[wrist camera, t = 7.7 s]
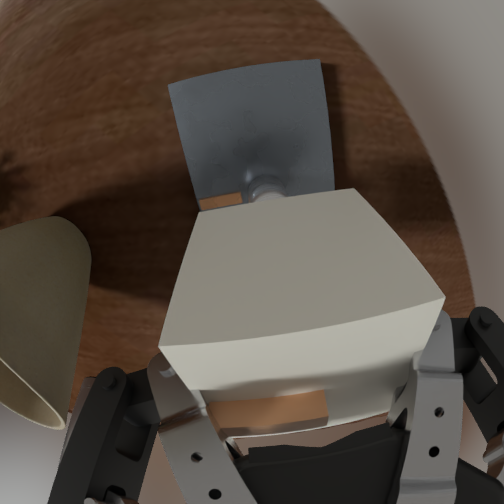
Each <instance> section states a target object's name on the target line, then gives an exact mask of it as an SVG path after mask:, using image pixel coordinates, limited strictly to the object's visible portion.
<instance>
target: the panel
mask: <svg viewBox="0 0 504 504" xmlns="http://www.w3.org/2000/svg"><path fill="white" fill-rule="evenodd" d="M168 88H169V93H170V97H171V101H172V106H173V110H174V114H175V118H176V122H177V127H178V131H179V135H180V139H181V143H182V146H183V150H184V154H185V158H186V162H187V166H188V170H189V173H190V177H191V181H192V184H193V188H194V192H195V195H196V199H197V202H198V206H199V210H200V212H204V211H209V210H214V209H219V208H225V207H230V206H236V205H242V204H248V203H253V202H259V201H266V200H272V199H278V198H285V197H291V196H298V195H305V194H312V193H320V192H327V191H335V185H334V170H333V157H332V145H331V135H330V126H329V117H328V109H327V102H326V95H325V88H324V81H323V75H322V69H321V63H320V59H314V60H297V61H285V62H275V63H267V64H259V65H252V66H246V67H240V68H234V69H229V70H224V71H219V72H215V73H210V74H206V75H202V76H198V77H194V78H190V79H186V80H182V81H179V82H175V83H172V84H169V85H168Z"/></svg>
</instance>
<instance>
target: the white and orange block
mask: <svg viewBox="0 0 504 504" xmlns="http://www.w3.org/2000/svg"><path fill="white" fill-rule="evenodd" d="M445 298H446V297H445V295H444V294H443V293H442V291H441V290H440V288H439V287H438V286H437V284H436V283H435V282H434V280H433V279H432V278H431V276H430V275H429V274H428V272H427V271H426V270H425V268H424V267H423V266H422V264H421V263H420V262H419V261H418V259H417V258H416V257H415V256H414V254H413V253H412V252H411V251H410V250H409V248H408V247H407V246H406V245H405V243H404V242H403V241H402V240H401V239H400V238H399V236H398V235H397V234H396V233H395V232H394V231H393V229H392V228H391V227H390V226H389V225H388V224H387V223H386V222H385V220H384V219H383V218H382V217H381V216H380V215H379V214H378V213H377V212H376V211H375V210H374V208H373V207H372V206H371V205H370V204H369V203H368V202H367V201H366V200H365V199H364V198H363V197H362V196H361V195H360V194H359V193H358V192H357V191H356V190H355V189H354V188H351V189H343V190H335V191H327V192H320V193H312V194H305V195H298V196H291V197H285V198H278V199H272V200H266V201H259V202H253V203H248V204H242V205H236V206H230V207H225V208H219V209H214V210H209V211H204V212H199V214H198V216H197V219H196V222H195V225H194V228H193V231H192V234H191V237H190V240H189V243H188V246H187V249H186V252H185V255H184V258H183V261H182V265H181V268H180V271H179V274H178V277H177V281H176V284H175V287H174V291H173V294H172V298H171V301H170V305H169V308H168V312H167V315H166V319H165V322H164V326H163V330H162V334H161V337H160V341H159V345H158V347H159V348H160V350H161V351H162V353H163V354H164V356H165V357H166V359H167V360H168V361H169V363H170V364H171V366H172V367H173V369H174V370H175V371H176V373H177V374H178V375H179V377H180V378H181V380H182V381H183V382H184V384H185V385H186V386H187V388H188V389H189V390H199V391H200V392H201V393H202V395H203V396H204V398H205V400H206V402H207V404H208V406H209V408H210V410H211V412H212V414H213V416H214V417H215V419H216V420H217V422H218V424H219V426H220V427H221V429H222V430H223V431H224V432H225V433H226V434H227V436H228V437H232V438H238V437H255V436H266V435H277V434H286V433H294V432H301V431H307V430H313V429H319V428H324V427H329V426H334V425H339V424H343V423H347V422H352V421H356V420H360V419H363V418H367V417H371V416H374V415H378V414H381V413H384V412H387V411H389V410H390V408H391V403H392V398H393V393H394V391H395V390H396V388H397V387H400V386H403V385H405V384H406V382H407V380H408V375H409V364H410V360H411V358H412V356H413V354H414V352H417V351H420V350H423V349H424V348H425V346H426V344H427V341H428V339H429V337H430V335H431V332H432V330H433V328H434V326H435V323H436V321H437V318H438V316H439V313H440V311H441V308H442V306H443V303H444V300H445Z"/></svg>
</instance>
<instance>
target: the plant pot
mask: <svg viewBox="0 0 504 504" xmlns="http://www.w3.org/2000/svg"><path fill="white" fill-rule="evenodd" d="M90 269H91V251H90V248H89V245H88V242H87V240H86V238H85V237H84V235H83V234H82V233H81V231H80V230H79V229H78V228H77V227H76V226H75V225H74V224H73V223H71V222H70V221H68V220H66V219H64V218H62V217H58V216H51V217H44V218H40V219H35V220H31V221H27V222H24V223H20V224H17V225H14V226H11V227H8V228H6V229H3V230H1V231H0V403H1V404H3V405H4V406H6V407H7V408H9V409H10V410H12V411H14V412H15V413H17V414H19V415H20V416H22V417H24V418H26V419H28V420H30V421H32V422H35V423H37V424H39V425H42V426H45V427H48V428H52V429H58V430H59V429H64V428H65V427H66V421H67V414H68V408H69V402H70V396H71V390H72V384H73V379H74V373H75V367H76V362H77V356H78V350H79V344H80V338H81V332H82V326H83V320H84V313H85V307H86V301H87V294H88V286H89V279H90Z"/></svg>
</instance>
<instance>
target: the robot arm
mask: <svg viewBox="0 0 504 504" xmlns="http://www.w3.org/2000/svg"><path fill="white" fill-rule="evenodd" d="M482 357H483V358H484V360H485V361H486V363H487V364H488V366H489V367H490V368H491V370H492V371H493V373H494V374H495V376H496V378H497V381H498V384H496V383H495V382H494V381H493V379H492V377H491V376H490V374H489V373H488V371H487V370H486V368H485V367H484V366H483V364H482V363H481V361H480V359H481V358H482ZM463 400H464V401H465V403H466V405H467V406H468V408H469V410H470V412H471V413H472V415H473V417H474V419H475V421H476V422H477V424H478V426H479V428H480V430H481V432H482V434H483V436H484V437H485V439H486V441H487V443H488V444H487V448H486V451H485V452H484V454H483V460H484V462H486V463H488V470H487V473H485V472H483V471H481V470H480V469H478V468H476V467H474V466H472V465H471V464H469V463H467V462H465V461H464V460H462V459H460V458H459V457H458V456H459V448H460V440H461V430H462V415H463ZM160 422H161V425H159V424H160ZM157 431H158V433H159V437H160V440H161V442H162V445H163V448H164V451H165V453H166V456H167V459H168V461H169V464H170V466H171V469H172V471H173V474H174V476H175V478H176V481H177V483H178V485H179V487H180V490H181V492H182V494H183V496H184V499H185V501H186V503H187V504H504V323H503V322H502V321H501V319H500V318H498V316H497V315H496V314H495V313H494V312H493V311H492V310H491V309H489V308H487V307H476V308H474V309H473V310H472V311H471V313H470V316H469V318H450V317H449V316H448V314H447V313H446V312H445V311H443V310H442V309H441V311H440V313H439V316H438V318H437V321H436V323H435V326H434V328H433V330H432V332H431V335H430V337H429V339H428V341H427V344H426V346H425V348H424V349H423V350H420V351H417V352H414V354H413V356H412V358H411V360H410V364H409V375H408V380H407V382H406V384H405V385H403V386H400V387H397V388H396V390H395V391H394V393H393V398H392V403H391V408H390V411H389V414H388V416H387V419H386V423H384V424H381V425H377V426H374V427H370V428H367V429H363V430H359V431H356V432H354V433H352V434H350V435H348V436H346V437H344V438H342V439H340V440H338V441H336V442H333V443H331V444H329V445H327V446H324V447H304V446H292V445H277V446H266V447H253V448H249V449H248V451H249V454H248V455H245V456H243V454H242V452H241V451H240V449H239V447H238V446H237V444H236V443H235V441H234V440H233V438H232V437H228V436H227V434H226V433H225V432H224V431H223V430H222V429H221V427H220V426H219V424H218V422H217V420H216V419H215V417H214V416H213V414H212V412H211V410H210V408H209V406H208V404H207V402H206V400H205V398H204V396H203V395H202V393H201V392H200V391H199V390H189V389H188V388H187V386H186V385H185V384H184V382H183V381H182V380H181V378H180V377H179V375H178V374H177V373H176V371H175V370H174V369H173V367H172V366H171V364H170V363H169V361H168V360H167V359H166V357H165V356H164V354H163V353H162V352H160V353H158V354H157V355H155V356H154V357H153V358H152V359H151V360H150V362H149V364H148V367H147V368H145V369H142V370H139V371H136V372H133V373H129V374H126V373H125V372H124V371H123V370H122V369H120V368H118V367H109V368H106V369H104V370H103V371H101V372H100V373H99V374H98V376H97V377H96V378H93V377H88V378H85V379H84V380H83V383H82V386H81V389H80V391H79V394H78V397H77V400H76V403H75V406H74V409H73V413H72V416H71V419H70V423H69V426H68V430H67V433H66V437H65V441H64V445H63V449H62V453H61V457H60V463H59V467H58V471H57V475H56V477H55V480H54V483H53V487H52V490H51V493H50V497H49V500H48V504H139V503H138V497H139V494H140V490H141V487H142V483H143V479H144V475H145V472H146V468H147V465H148V461H149V458H150V455H151V451H152V447H153V444H154V440H155V438H156V434H157Z"/></svg>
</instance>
